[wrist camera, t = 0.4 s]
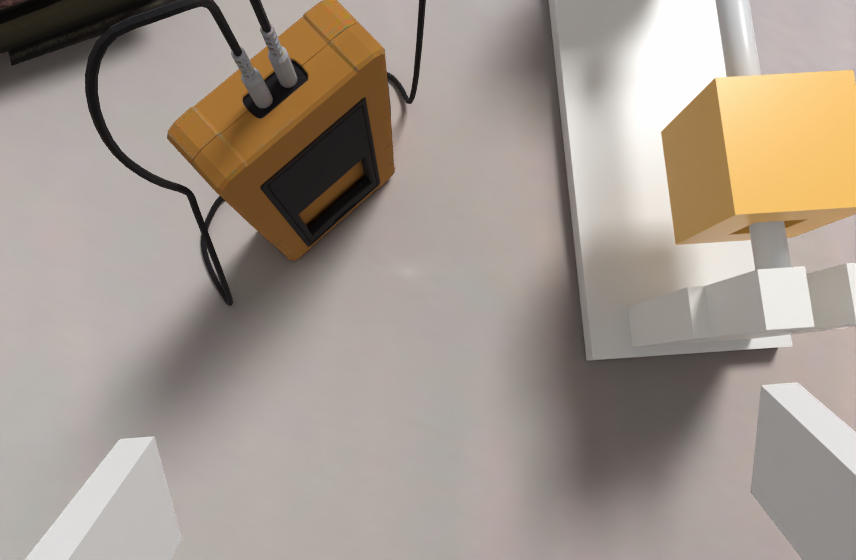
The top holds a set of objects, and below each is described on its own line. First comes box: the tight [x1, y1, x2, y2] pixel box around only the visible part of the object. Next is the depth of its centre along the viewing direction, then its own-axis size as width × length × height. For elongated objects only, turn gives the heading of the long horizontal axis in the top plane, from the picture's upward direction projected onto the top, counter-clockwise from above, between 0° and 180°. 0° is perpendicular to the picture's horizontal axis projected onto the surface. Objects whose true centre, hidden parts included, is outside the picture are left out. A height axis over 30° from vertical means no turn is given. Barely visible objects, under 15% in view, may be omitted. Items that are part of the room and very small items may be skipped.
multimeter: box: [85, 0, 426, 306], centre depth 24 cm, size 15×10×20 cm
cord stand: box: [548, 0, 856, 361], centre depth 28 cm, size 24×10×12 cm, turn 4°
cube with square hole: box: [661, 70, 856, 245], centre depth 25 cm, size 5×5×5 cm
